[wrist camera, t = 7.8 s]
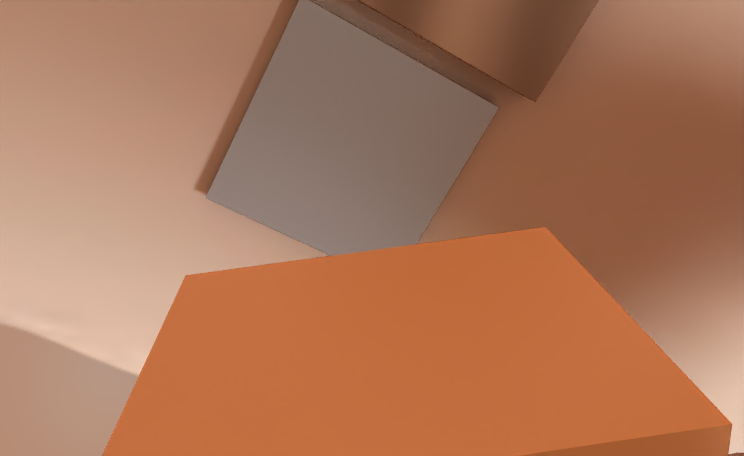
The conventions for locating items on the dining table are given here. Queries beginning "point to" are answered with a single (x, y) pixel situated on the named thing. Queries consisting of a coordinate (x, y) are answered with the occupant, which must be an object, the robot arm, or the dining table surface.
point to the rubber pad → (348, 139)
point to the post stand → (497, 34)
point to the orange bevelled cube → (413, 361)
